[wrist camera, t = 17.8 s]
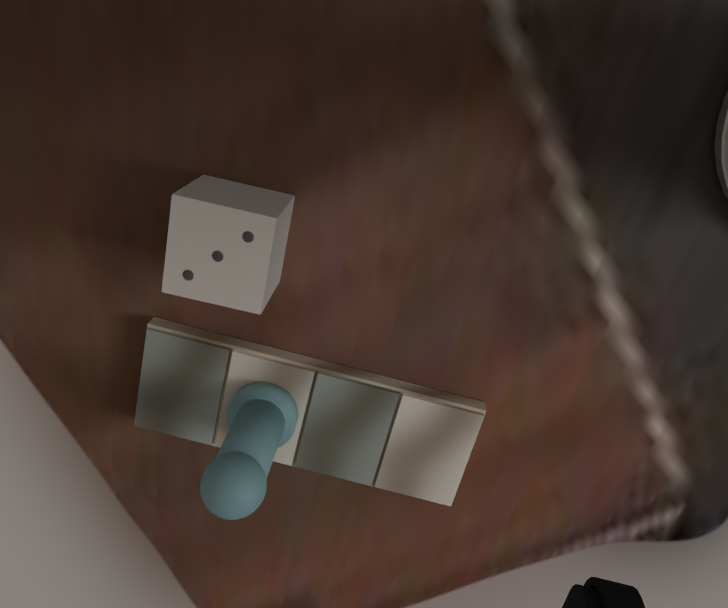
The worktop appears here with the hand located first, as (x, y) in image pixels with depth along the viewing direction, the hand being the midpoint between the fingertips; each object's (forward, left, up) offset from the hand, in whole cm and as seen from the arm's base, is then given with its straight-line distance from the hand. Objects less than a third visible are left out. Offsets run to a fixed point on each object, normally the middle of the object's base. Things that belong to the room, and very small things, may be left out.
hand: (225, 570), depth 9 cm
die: (+6, +4, -28) cm, 29 cm away
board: (0, +14, -28) cm, 31 cm away
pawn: (+3, +15, -27) cm, 30 cm away
